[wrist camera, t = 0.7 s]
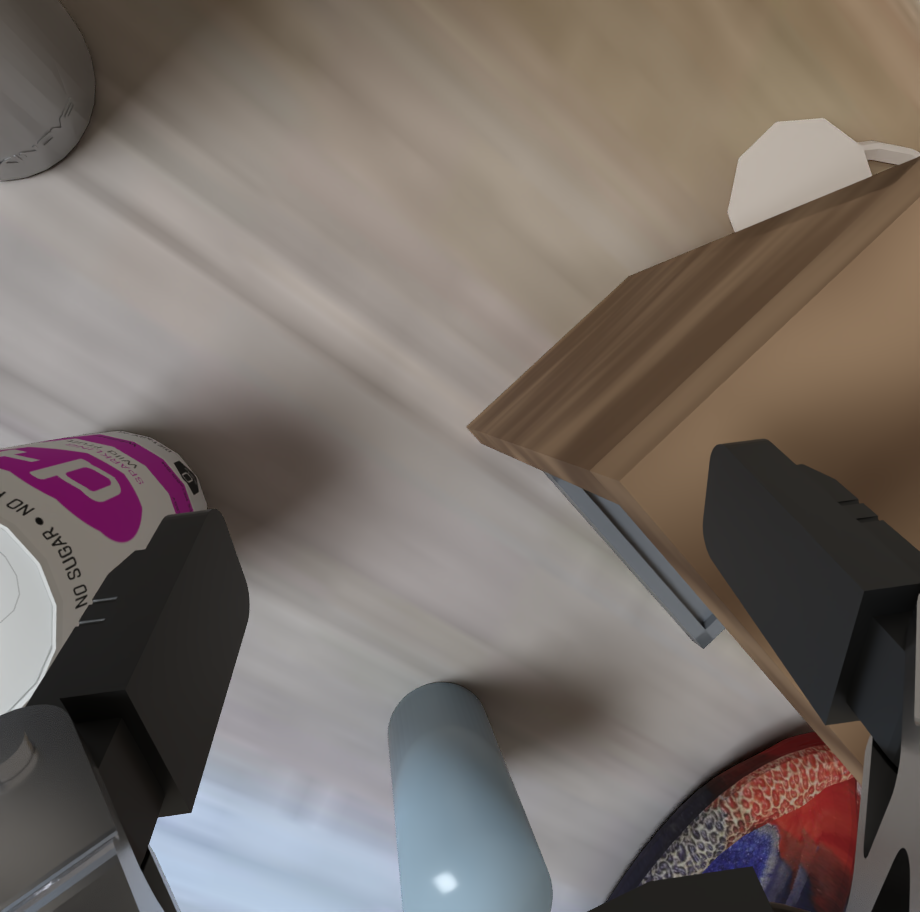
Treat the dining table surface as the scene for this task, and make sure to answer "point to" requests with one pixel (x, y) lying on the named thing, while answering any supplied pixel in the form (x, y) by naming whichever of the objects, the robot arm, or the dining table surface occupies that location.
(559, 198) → the dining table surface
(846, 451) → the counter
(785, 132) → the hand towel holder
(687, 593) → the tray
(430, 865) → the tall pale blue cylinder
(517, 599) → the dining table surface
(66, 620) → the supplement can
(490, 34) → the dining table surface
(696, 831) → the dish
